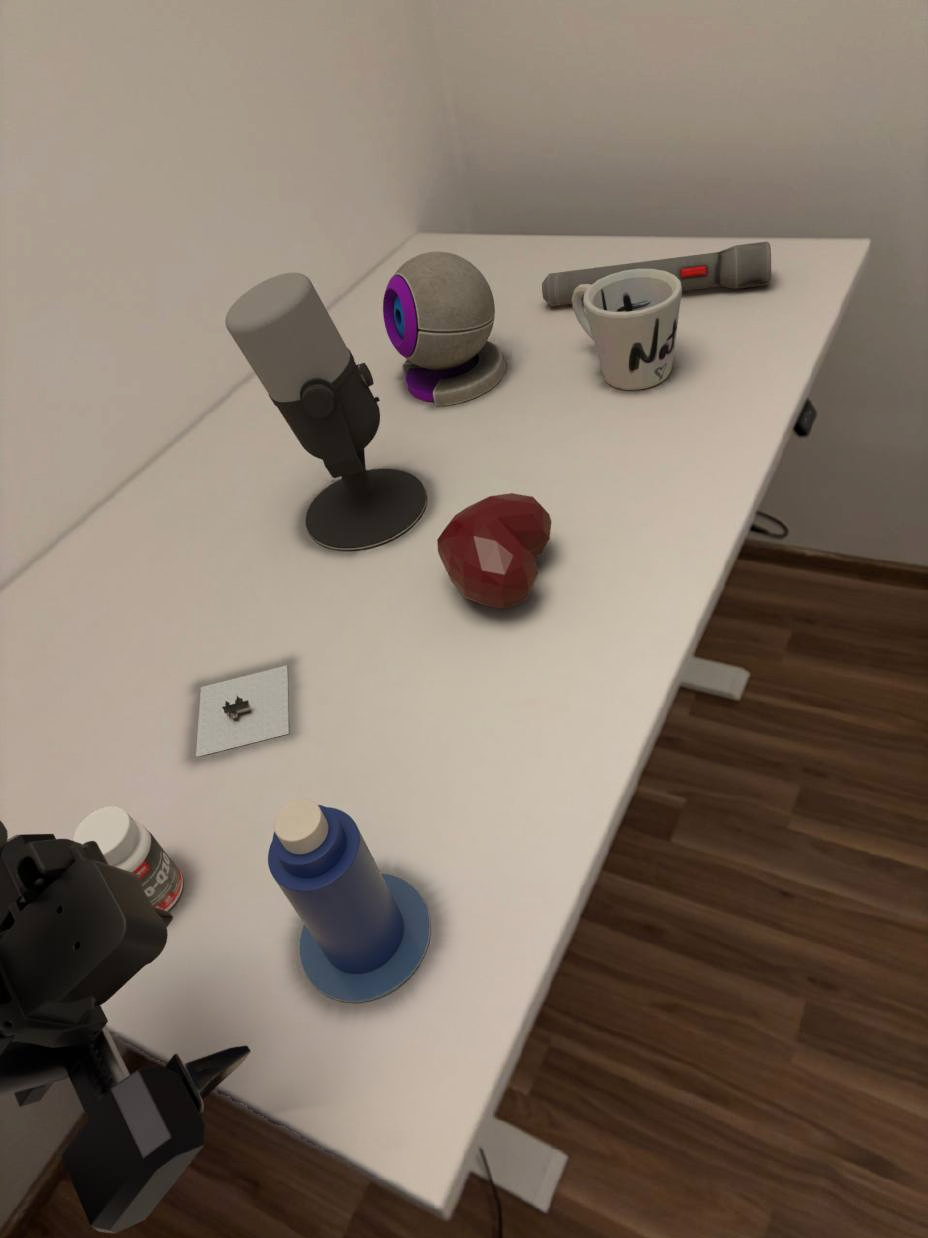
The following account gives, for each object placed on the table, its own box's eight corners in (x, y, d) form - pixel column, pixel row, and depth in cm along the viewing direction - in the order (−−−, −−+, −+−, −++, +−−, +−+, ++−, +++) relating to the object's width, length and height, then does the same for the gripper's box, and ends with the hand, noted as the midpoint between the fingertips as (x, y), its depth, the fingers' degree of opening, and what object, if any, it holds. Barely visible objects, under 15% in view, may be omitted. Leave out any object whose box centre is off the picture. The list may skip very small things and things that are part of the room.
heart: (420, 615, 81) (528, 634, 79) (412, 550, 76) (527, 567, 74) (458, 530, 89) (557, 545, 87) (453, 466, 84) (559, 479, 82)
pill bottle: (161, 930, 65) (106, 870, 59) (110, 914, 67) (52, 854, 61) (196, 871, 68) (148, 809, 62) (146, 857, 70) (95, 795, 64)
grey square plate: (254, 695, 80) (247, 680, 78) (254, 719, 78) (246, 705, 76) (228, 701, 80) (220, 687, 78) (227, 726, 78) (219, 712, 76)
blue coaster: (372, 1030, 57) (371, 1028, 57) (274, 957, 62) (272, 955, 61) (457, 913, 61) (456, 911, 61) (359, 854, 66) (358, 852, 66)
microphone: (307, 488, 101) (221, 270, 83) (421, 461, 100) (359, 235, 83) (306, 563, 91) (210, 334, 74) (432, 533, 91) (365, 296, 73)
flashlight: (545, 270, 120) (538, 269, 116) (768, 242, 113) (771, 239, 108) (548, 310, 122) (541, 311, 117) (769, 284, 114) (771, 284, 109)
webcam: (387, 375, 115) (354, 260, 105) (475, 337, 117) (452, 221, 107) (429, 418, 106) (398, 296, 96) (525, 375, 108) (504, 253, 98)
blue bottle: (349, 992, 59) (277, 883, 49) (308, 930, 62) (233, 817, 53) (419, 936, 60) (363, 821, 51) (376, 879, 64) (315, 761, 54)
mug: (638, 408, 99) (632, 323, 92) (547, 368, 109) (535, 289, 102) (704, 365, 103) (703, 280, 96) (610, 330, 112) (602, 251, 105)
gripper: (104, 1112, 31) (380, 1023, 44) (-64, 748, 41) (203, 762, 54) (-46, 1312, 34) (258, 1173, 47) (-171, 923, 44) (109, 897, 56)
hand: (205, 984), depth 51 cm, fingers open, 9 cm apart
